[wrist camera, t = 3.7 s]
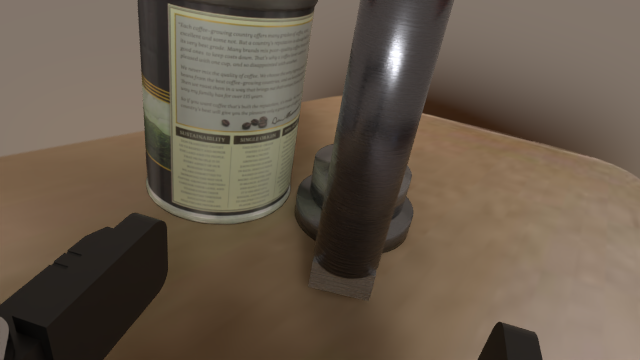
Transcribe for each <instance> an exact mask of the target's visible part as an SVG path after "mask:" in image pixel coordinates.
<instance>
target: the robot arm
mask: <svg viewBox="0 0 640 360" xmlns="http://www.w3.org/2000/svg"><path fill="white" fill-rule="evenodd" d="M167 272H168V252H167V226H166V223H165V222H164V221H162V220H158V219H155V218H151V217H148V216H145V215H141V214H138V213H132V214H130V215H129V216H128V217H126V218H125V219H124V220H123V221H122V222H121V223H119V224H118V225H117V226H116V227H115V228H110V227H105V228H103V229H101V230H98V231H96V232H94V233H92V234H89V235H87V236H85V237H84V238H82V239H81V240H80V241H79V242H77V243H76V244H75V245H74V246H72V247H71V248H70V249H69V250H68V252H67V253H64V254H63V255H61V256H60V257H59V258H58V259H56V260H55V261H54V263H53V265H49V266H48V267H47V268H45V269H44V270H43V271H42V272H40V273H39V274H38V275H37V276H35V277H34V278H33V279H32V280H30V281H29V282H28V283H27V284H26V285H24V286H23V287H22V288H21V289H19V290H18V291H17V292H16V293H14V294H13V295H12V296H11V297H9V298H8V299H7V300H6V301H5V302H3V303H2V304H1V305H0V360H103V359H104V358H105V357H106V355H107V354H108V353H109V352H110V351H111V349H112V348H113V347H114V346H115V345H116V343H117V342H118V341H119V340H120V339H121V337H122V336H123V335H124V334H125V333H126V331H127V330H128V329H129V328H130V327H131V325H132V324H133V323H134V322H135V320H136V319H137V318H138V317H139V316H140V314H141V313H142V312H143V311H144V310H145V308H146V307H147V306H148V305H149V304H150V302H151V301H152V300H153V299H154V298H155V296H156V295H157V294H158V293H159V291H160V290H161V288H162V286H163V284H164V282H165V279H166V276H167ZM478 360H542V355H541V350H540V345H539V341H538V337H537V335H536V333H535V332H532V331H529V330H526V329H522V328H519V327H515V326H512V325H509V324H505V323H502V322H498V323H497V324H496V325H495V326H494V328H493V330H492V332H491V334H490V336H489V338H488V340H487V342H486V344H485V346H484V348H483V350H482V352H481V354H480V356H479V358H478Z"/></svg>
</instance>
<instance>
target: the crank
mask: <svg viewBox="0 0 640 360" xmlns="http://www.w3.org/2000/svg"><path fill="white" fill-rule="evenodd" d="M453 2H454V0H360V6H359V10H358V16H357V21H356V27H355V32H354V37H353V43H352V49H351V54H350V59H349V65H348V70H347V75H346V81H345V86H344V92H343V97H342V102H341V108H340V113H339V118H338V124H337V129H336V135H335V140H334V144H331V145H328V146H325V147H323V148H321V149H320V150H319V151H318V152H317V153H316V156H315V161H314V167H313V173H312V179H311V185H310V194H311V197H312V199H313V200H314V202H315V203H316V204H317V205H318V206H319V207H320V208H321V209H322V210H321V216H320V221H319V226H318V232H317V237H316V243H315V248H314V259H313V263H312V269H311V274H310V279H309V285H308V287H311V288H315V289H319V290H324V291H328V292H332V293H336V294H341V295H345V296H349V297H353V298H358V299H362V300H366V301H369V298H370V294H371V291H372V287H373V284H374V280H375V277H376V270H377V268H378V265H379V262H380V258H381V255H382V251H383V248H384V244H385V241H386V237H387V234H388V230H389V227H390V223H391V220H393V219H394V218H396V217H397V216H398V215H399V214H400V213H401V211H402V208H403V205H404V202H405V198H406V195H407V191H408V188H409V185H410V181H411V177H412V174H411V171H410V169H409V167H408V166H407V164H408V160H409V157H410V153H411V150H412V146H413V142H414V139H415V135H416V132H417V128H418V125H419V121H420V118H421V114H422V111H423V107H424V104H425V100H426V97H427V93H428V90H429V86H430V83H431V79H432V76H433V72H434V69H435V65H436V62H437V58H438V55H439V51H440V47H441V44H442V41H443V37H444V33H445V30H446V26H447V23H448V20H449V16H450V13H451V9H452V5H453Z"/></svg>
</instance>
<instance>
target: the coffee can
mask: <svg viewBox="0 0 640 360" xmlns="http://www.w3.org/2000/svg"><path fill="white" fill-rule="evenodd" d="M317 2H318V0H138V17H139V35H140V52H141V72H142V87H143V88H142V89H143V109H144V126H145V145H146V164H147V179H146V187H147V191H148V193H149V195H150V197H151V198H152V199H153V201H154V202H155V203H156V204H157V205H159V206H160V207H161V208H162V209H164V210H166V211H167V212H169V213H171V214H173V215H176V216H178V217H181V218H184V219H187V220H191V221H195V222H201V223H210V224H236V223H241V222H246V221H252V220H256V219H259V218H262V217H264V216H266V215H268V214H270V213H272V212H274V211H275V210H277V209H278V208H279V207H281V206H282V205H283V204H284V202H285V201H286V199H287V198H288V196H289V193H290V187H291V186H290V179H291V172H292V165H293V158H294V151H295V144H296V136H297V129H298V122H299V116H300V108H301V100H302V93H303V86H304V79H305V72H306V64H307V58H308V51H309V42H310V34H311V27H312V21H313V14H314V7H315V5H316V3H317Z"/></svg>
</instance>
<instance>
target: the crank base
mask: <svg viewBox="0 0 640 360" xmlns="http://www.w3.org/2000/svg"><path fill="white" fill-rule="evenodd" d="M311 179H312V175H310V176H309V177H307V178H306V179H304V180H303V181H302V182H301V184H300V186H299V188H298V192H297V198H296V205H295V217H296V220H297V222H298V224H299V225H300V227H301V228H302V229H303V231H304V232H305V233H306V234H308V235H309V236H310V237H311V238H313V239H314V240H316V237H317V232H318V226H319V221H320V216H321V210H322V209H321V208H320V207H319V206H318V205H317V204H316V203H315V202H314V200H313V199H312V197H311V194H310V185H311ZM412 217H413V207H412V204H411V202H410V201H409V199H408V198H407V197H406V198H405V202H404V205H403V208H402V211H401V213H400V214H399V215H398V216H397V217H396V218H394V219H393V220H391V223H390V227H389V230H388V234H387V237H386V241H385V244H384V248H383V251H382V253H385V252H388V251H391V250H393V249H395V248H397V247H398V246H400V245H401V244H402V243H403V242H404V240H405V239H406V236H407V233H408V230H409V227H410V224H411V221H412Z"/></svg>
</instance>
